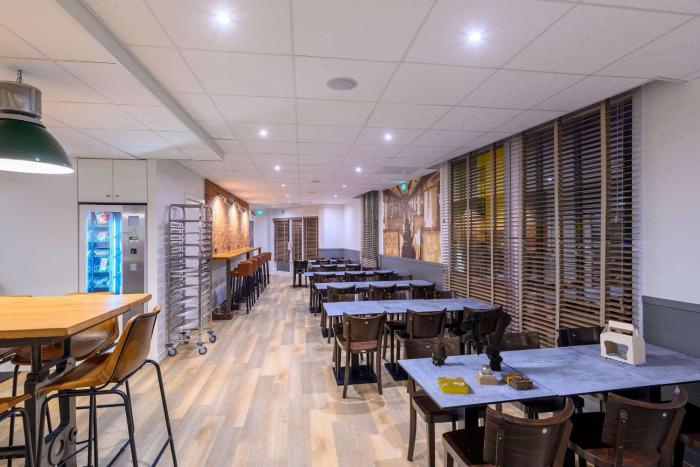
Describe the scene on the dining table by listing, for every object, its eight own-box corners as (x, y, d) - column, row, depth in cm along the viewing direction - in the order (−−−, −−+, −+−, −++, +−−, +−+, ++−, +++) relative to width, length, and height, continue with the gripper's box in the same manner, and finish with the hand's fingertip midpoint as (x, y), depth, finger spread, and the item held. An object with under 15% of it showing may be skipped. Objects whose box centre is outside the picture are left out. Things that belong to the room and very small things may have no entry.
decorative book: (516, 379, 211) (516, 371, 212) (535, 390, 195) (534, 381, 196) (500, 381, 209) (500, 372, 210) (517, 391, 193) (517, 382, 194)
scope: (431, 343, 244) (444, 343, 245) (431, 363, 243) (445, 362, 244) (434, 346, 236) (448, 346, 236) (435, 366, 235) (449, 366, 236)
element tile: (462, 384, 205) (462, 376, 205) (469, 394, 190) (469, 386, 190) (437, 383, 206) (437, 375, 206) (442, 394, 191) (442, 385, 191)
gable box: (646, 364, 236) (644, 324, 238) (634, 367, 232) (632, 326, 233) (612, 355, 257) (610, 318, 259) (600, 357, 253) (598, 320, 254)
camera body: (493, 380, 210) (493, 371, 210) (497, 385, 202) (497, 375, 202) (476, 379, 211) (476, 370, 212) (480, 384, 203) (480, 375, 204)
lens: (481, 374, 210) (481, 364, 210) (489, 374, 209) (489, 364, 209) (483, 376, 205) (483, 366, 205) (492, 377, 204) (491, 367, 205)
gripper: (460, 326, 236) (460, 349, 235) (466, 332, 217) (467, 357, 216) (476, 326, 235) (477, 349, 234) (484, 333, 216) (485, 357, 215)
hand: (476, 353), depth 225 cm, fingers open, 9 cm apart
